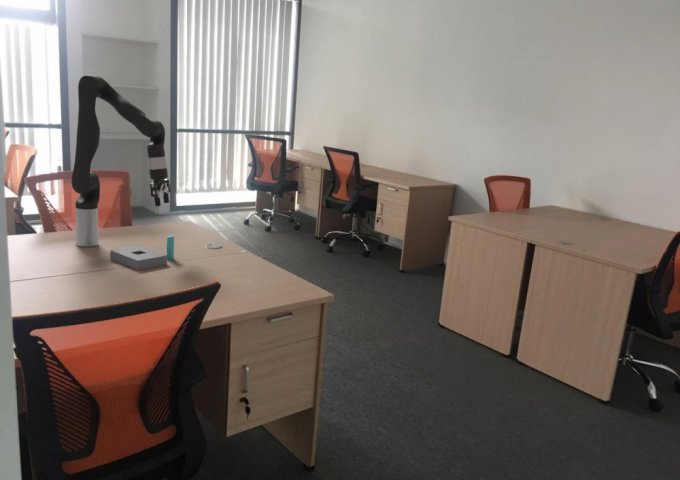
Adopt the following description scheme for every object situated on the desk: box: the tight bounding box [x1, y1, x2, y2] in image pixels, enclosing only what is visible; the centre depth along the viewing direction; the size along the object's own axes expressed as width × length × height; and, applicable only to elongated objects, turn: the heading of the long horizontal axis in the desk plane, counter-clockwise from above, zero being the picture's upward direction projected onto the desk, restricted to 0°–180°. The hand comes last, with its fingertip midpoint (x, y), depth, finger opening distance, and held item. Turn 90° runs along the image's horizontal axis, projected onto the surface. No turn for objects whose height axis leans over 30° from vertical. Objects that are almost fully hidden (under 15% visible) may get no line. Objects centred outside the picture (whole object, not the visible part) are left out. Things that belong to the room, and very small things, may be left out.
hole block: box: [109, 245, 168, 271], centre depth 248 cm, size 20×14×4 cm
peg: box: [166, 235, 175, 261], centre depth 255 cm, size 3×3×10 cm
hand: (162, 204), depth 259 cm, fingers open, 8 cm apart
